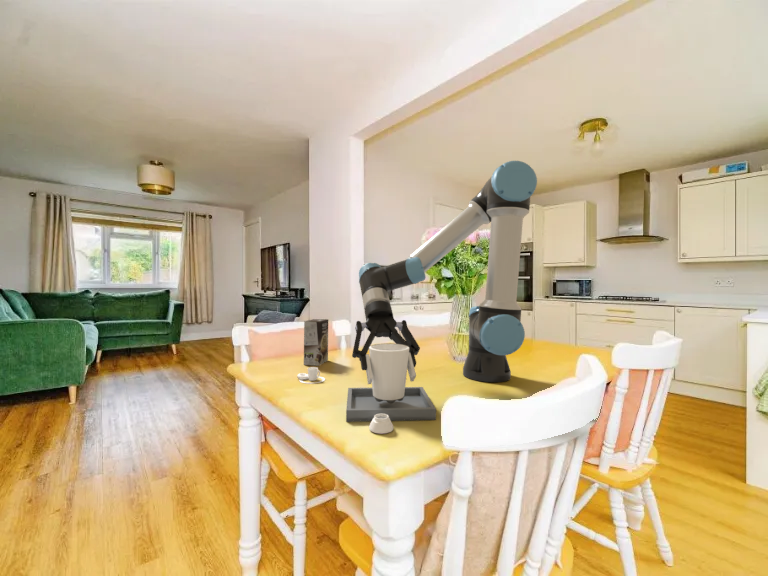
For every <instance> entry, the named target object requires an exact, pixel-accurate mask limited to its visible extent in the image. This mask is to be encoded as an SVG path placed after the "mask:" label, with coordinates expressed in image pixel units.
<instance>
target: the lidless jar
mask: <svg viewBox="0 0 768 576" xmlns="http://www.w3.org/2000/svg"><path fill="white" fill-rule="evenodd" d="M392 422H393V421H391V420H390V419H389V416H388V415H387V414H382V413H380V414H376V415H374V418H373V419H372V421H370V423H369V426H368V428H369V431H370V432H372V433H375V434H378V435H379V434H381V435H385V434H388V433H391V432H392V431H394V424H393V423H392Z"/></svg>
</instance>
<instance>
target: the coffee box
mask: <svg viewBox="0 0 768 576" xmlns="http://www.w3.org/2000/svg"><path fill="white" fill-rule="evenodd" d="M303 323H304V325H303V365H304V366H305V365H306V366H313V367H316V366H317V367H319V366H321V365H323V364H325V363H326V362H328V361H329V319H327V318H325V319H324V318H323V319H322V318H319V319H317V318H316V319H315V318H313V319H309V320H304V322H303ZM324 362H325V363H324Z"/></svg>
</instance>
